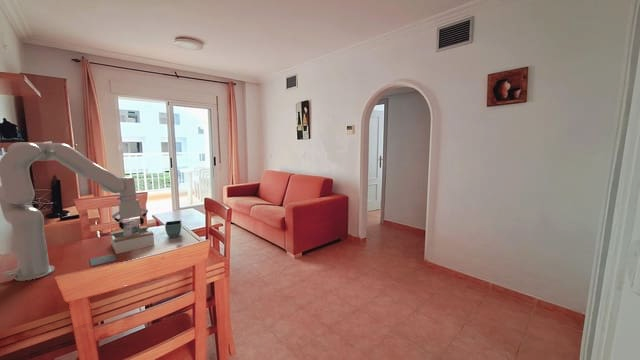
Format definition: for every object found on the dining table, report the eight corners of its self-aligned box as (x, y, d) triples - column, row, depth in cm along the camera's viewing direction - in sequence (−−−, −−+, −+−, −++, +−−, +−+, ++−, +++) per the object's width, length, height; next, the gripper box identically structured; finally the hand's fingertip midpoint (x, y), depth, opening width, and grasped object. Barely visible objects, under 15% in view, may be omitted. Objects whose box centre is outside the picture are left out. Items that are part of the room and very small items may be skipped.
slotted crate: (116, 253, 144) (114, 240, 143) (111, 244, 157) (110, 232, 156) (154, 245, 157) (153, 232, 156) (147, 236, 169) (146, 225, 168)
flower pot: (167, 234, 173) (166, 221, 172) (182, 233, 177) (181, 220, 176) (165, 239, 166) (164, 225, 164) (181, 237, 169) (180, 223, 168)
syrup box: (132, 247, 153) (130, 222, 151) (124, 246, 155) (121, 222, 152) (141, 243, 159) (139, 219, 157) (133, 242, 160) (130, 219, 158)
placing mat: (91, 266, 130) (91, 266, 129) (89, 260, 137) (89, 259, 137) (116, 260, 136) (116, 259, 136) (114, 254, 144) (113, 253, 143)
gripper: (110, 201, 144) (114, 232, 147) (147, 196, 156) (150, 224, 159) (108, 199, 149) (112, 228, 152) (144, 194, 161) (147, 221, 164)
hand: (132, 226), depth 156 cm, fingers open, 9 cm apart
